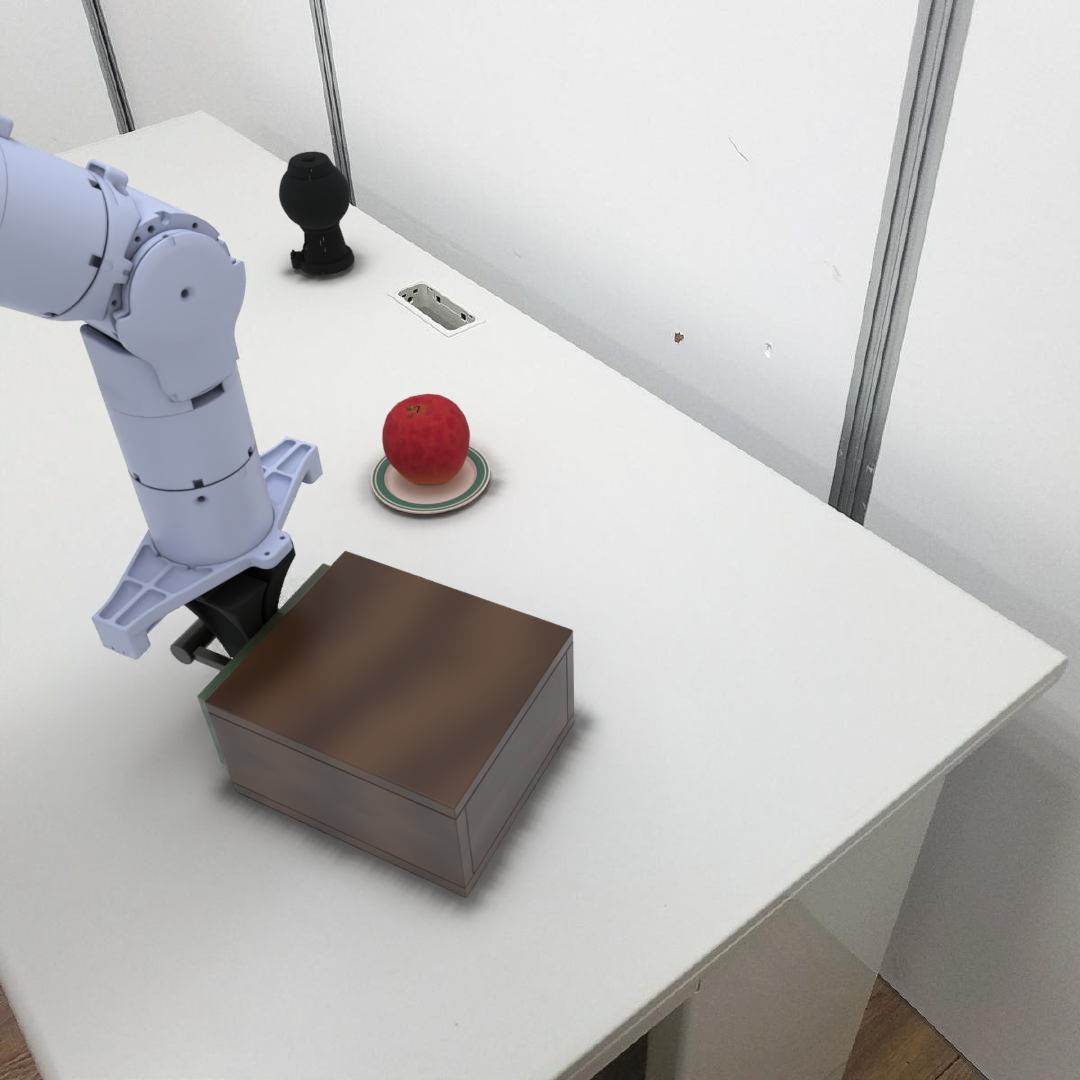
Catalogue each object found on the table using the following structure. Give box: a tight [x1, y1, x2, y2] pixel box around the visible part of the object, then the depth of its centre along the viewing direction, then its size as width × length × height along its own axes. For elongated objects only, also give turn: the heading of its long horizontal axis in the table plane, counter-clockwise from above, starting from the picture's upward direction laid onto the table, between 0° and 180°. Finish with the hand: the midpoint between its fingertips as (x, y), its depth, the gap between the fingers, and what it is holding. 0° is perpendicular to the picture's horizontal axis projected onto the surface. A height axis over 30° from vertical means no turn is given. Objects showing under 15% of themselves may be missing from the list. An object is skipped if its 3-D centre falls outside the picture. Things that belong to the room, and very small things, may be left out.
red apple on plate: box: [370, 393, 491, 515], centre depth 73 cm, size 8×8×6 cm
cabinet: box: [204, 550, 575, 898], centre depth 56 cm, size 14×12×7 cm
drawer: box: [169, 563, 331, 766], centre depth 57 cm, size 17×10×5 cm, turn 63°
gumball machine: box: [278, 147, 355, 278], centre depth 95 cm, size 7×6×10 cm
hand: (251, 653), depth 59 cm, fingers closed, pressing on drawer
